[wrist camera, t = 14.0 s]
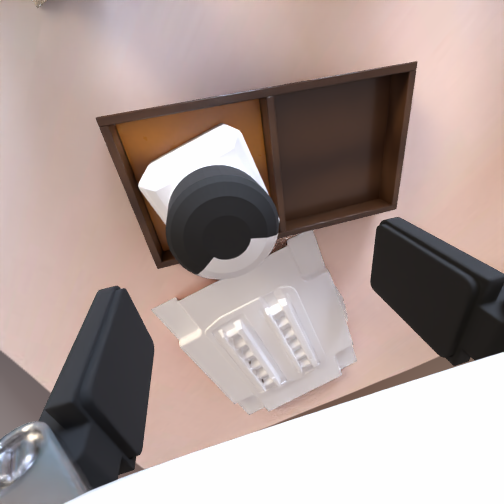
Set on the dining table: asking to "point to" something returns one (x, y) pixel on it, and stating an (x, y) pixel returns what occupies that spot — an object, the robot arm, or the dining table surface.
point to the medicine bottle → (213, 204)
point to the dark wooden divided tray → (285, 146)
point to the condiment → (39, 2)
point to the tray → (267, 328)
